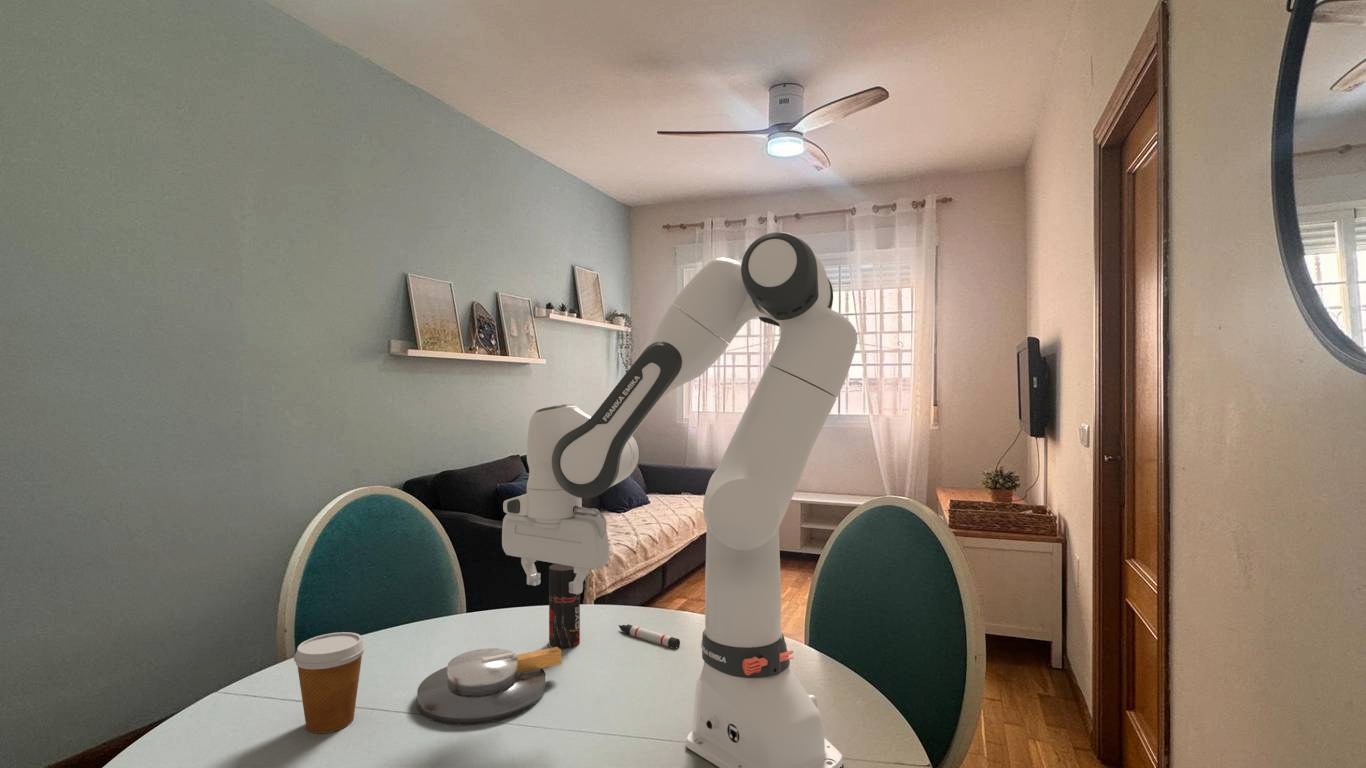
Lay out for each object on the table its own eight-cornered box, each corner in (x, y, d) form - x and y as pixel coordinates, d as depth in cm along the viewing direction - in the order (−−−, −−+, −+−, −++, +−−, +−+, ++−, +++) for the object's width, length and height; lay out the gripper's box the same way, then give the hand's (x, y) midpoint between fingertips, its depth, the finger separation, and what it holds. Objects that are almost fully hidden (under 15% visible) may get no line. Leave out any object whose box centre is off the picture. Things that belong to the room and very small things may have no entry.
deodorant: (577, 649, 127) (576, 570, 127) (546, 649, 127) (546, 570, 127) (582, 637, 133) (582, 562, 133) (552, 637, 133) (552, 562, 133)
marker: (680, 647, 129) (680, 637, 129) (673, 650, 127) (673, 640, 127) (621, 630, 138) (621, 620, 138) (615, 632, 136) (615, 623, 136)
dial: (454, 701, 101) (454, 679, 101) (441, 674, 111) (441, 654, 111) (570, 675, 110) (570, 654, 110) (549, 652, 120) (549, 633, 120)
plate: (562, 704, 105) (562, 689, 105) (428, 738, 95) (428, 722, 95) (525, 659, 122) (525, 647, 122) (408, 684, 112) (408, 670, 112)
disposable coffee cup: (316, 746, 93) (316, 660, 93) (280, 728, 98) (280, 646, 98) (378, 717, 101) (378, 638, 101) (342, 702, 106) (342, 626, 106)
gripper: (617, 506, 106) (617, 593, 106) (522, 496, 116) (522, 575, 116) (592, 513, 101) (592, 604, 100) (495, 501, 111) (495, 584, 111)
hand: (554, 588), depth 108 cm, fingers open, 8 cm apart
